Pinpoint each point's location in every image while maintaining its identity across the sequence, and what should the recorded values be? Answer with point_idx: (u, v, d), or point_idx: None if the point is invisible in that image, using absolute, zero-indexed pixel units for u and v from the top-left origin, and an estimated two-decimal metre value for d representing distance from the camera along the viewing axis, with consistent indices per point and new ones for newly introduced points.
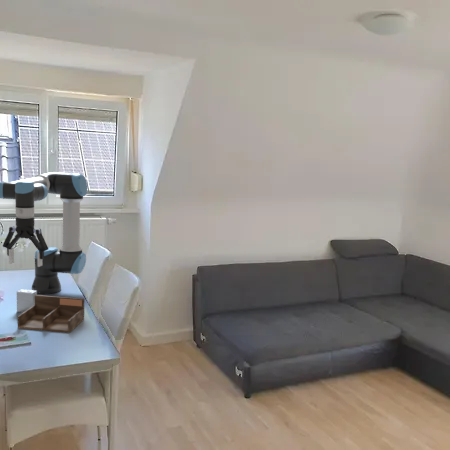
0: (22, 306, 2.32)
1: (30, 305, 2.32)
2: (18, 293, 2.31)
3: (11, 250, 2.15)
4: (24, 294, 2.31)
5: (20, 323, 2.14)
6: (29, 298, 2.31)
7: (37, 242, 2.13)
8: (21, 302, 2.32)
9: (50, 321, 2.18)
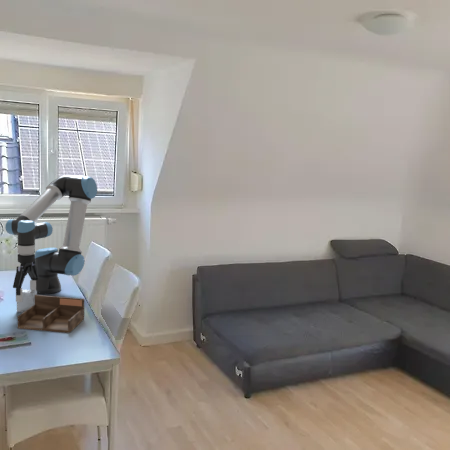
0: (22, 306, 2.32)
1: (30, 305, 2.32)
2: None
3: (31, 281, 2.38)
4: (24, 294, 2.31)
5: (20, 323, 2.14)
6: (29, 298, 2.31)
7: None
8: (21, 302, 2.32)
9: (50, 321, 2.18)
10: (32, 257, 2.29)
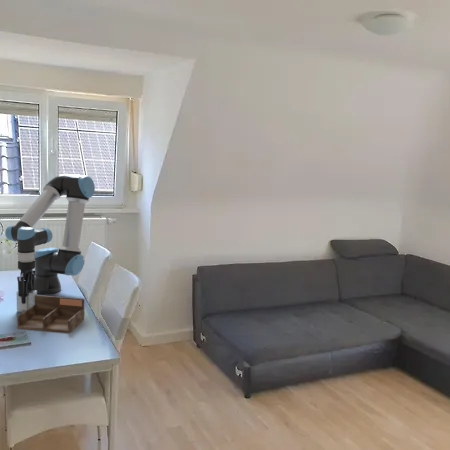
0: None
1: (30, 305, 2.32)
2: None
3: None
4: None
5: (20, 323, 2.14)
6: (29, 298, 2.31)
7: None
8: None
9: (50, 321, 2.18)
10: (32, 264, 2.29)
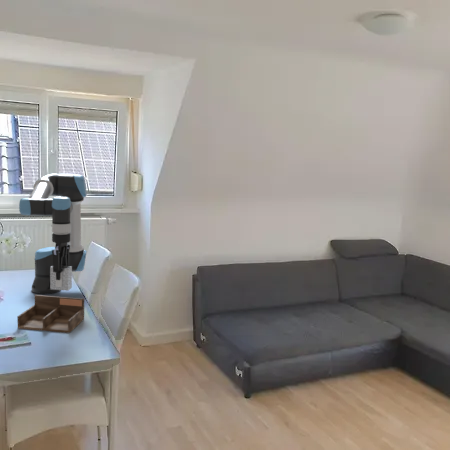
0: None
1: (65, 281, 2.13)
2: (51, 268, 2.12)
3: None
4: None
5: (20, 323, 2.14)
6: (64, 274, 2.12)
7: None
8: (55, 278, 2.13)
9: (50, 321, 2.18)
10: (68, 236, 2.10)
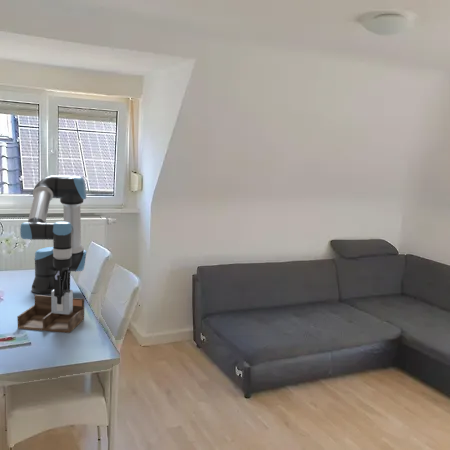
0: None
1: (66, 305, 2.14)
2: (53, 292, 2.14)
3: None
4: None
5: (20, 323, 2.14)
6: (65, 298, 2.14)
7: None
8: (56, 302, 2.14)
9: (50, 321, 2.18)
10: (69, 261, 2.12)
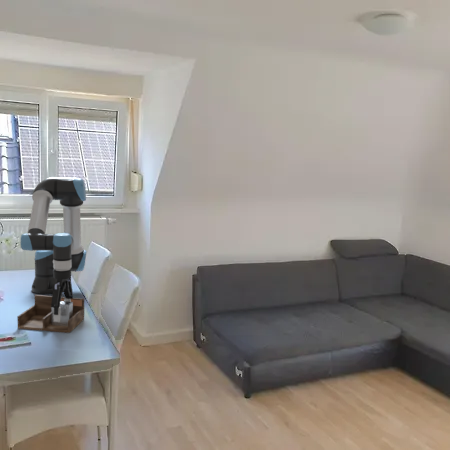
0: None
1: (66, 317, 2.15)
2: None
3: (66, 300, 2.22)
4: (60, 306, 2.15)
5: (20, 323, 2.14)
6: (65, 310, 2.15)
7: None
8: None
9: (50, 321, 2.18)
10: (69, 272, 2.13)
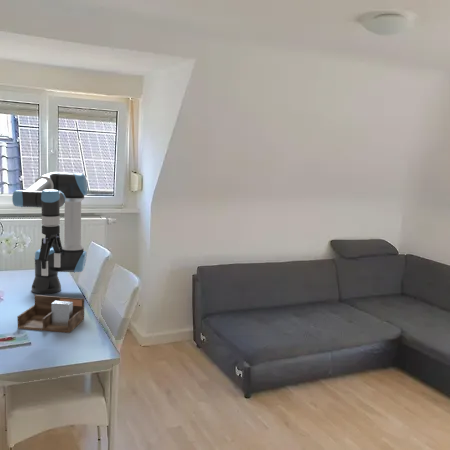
0: (57, 319, 2.16)
1: (66, 317, 2.15)
2: (53, 304, 2.15)
3: (55, 255, 2.25)
4: (60, 306, 2.15)
5: (20, 323, 2.14)
6: (65, 310, 2.15)
7: None
8: (56, 314, 2.15)
9: (50, 321, 2.18)
10: (57, 228, 2.15)
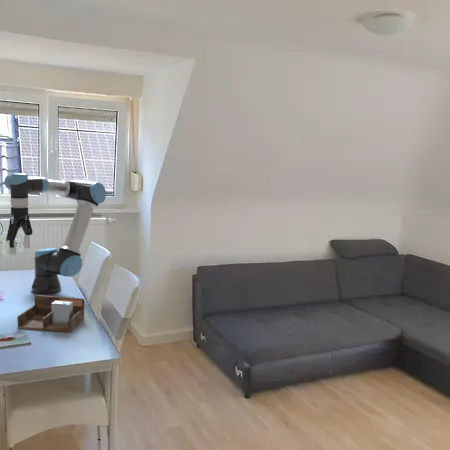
0: (57, 319, 2.16)
1: (66, 317, 2.15)
2: (53, 304, 2.15)
3: (25, 236, 2.37)
4: (60, 306, 2.15)
5: (20, 323, 2.14)
6: (65, 310, 2.15)
7: (13, 231, 2.25)
8: (56, 314, 2.15)
9: (50, 321, 2.18)
10: (25, 210, 2.27)
